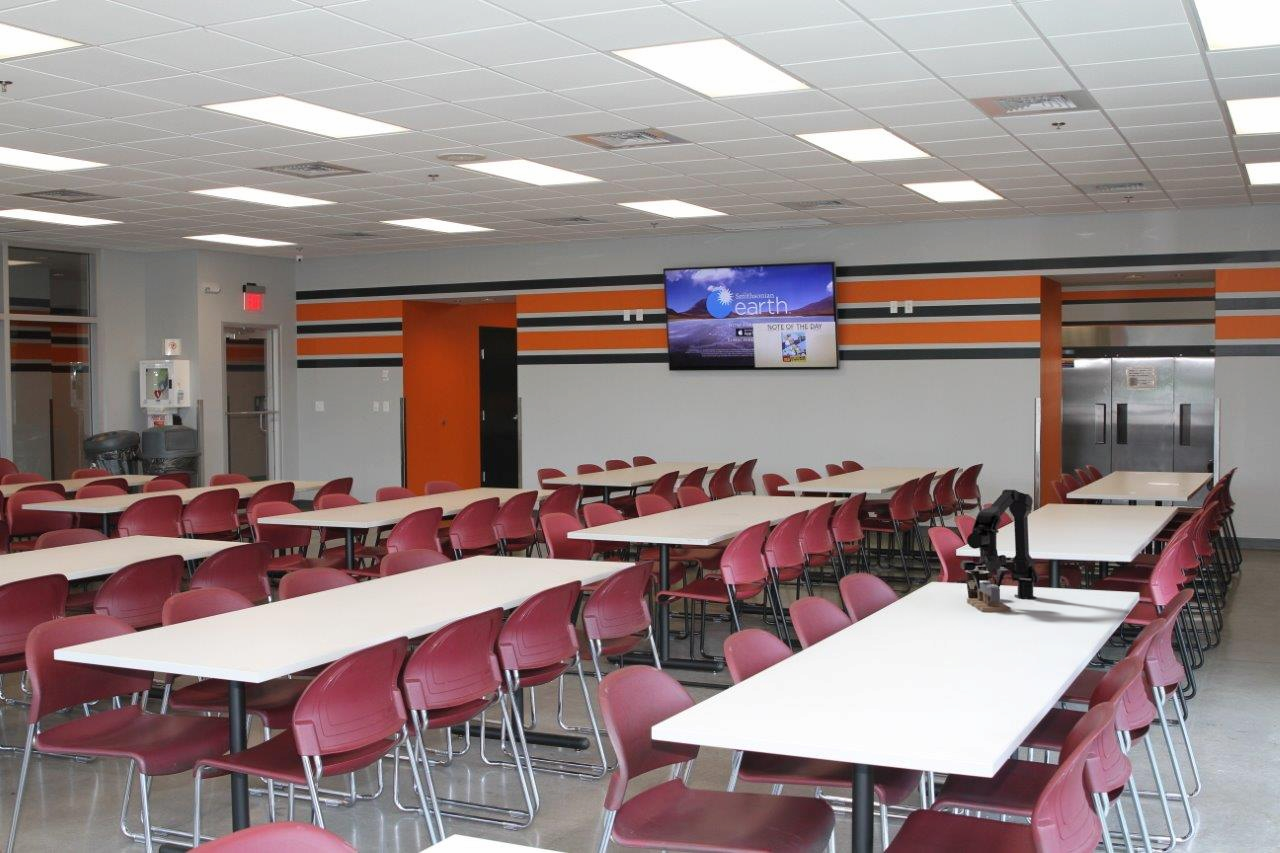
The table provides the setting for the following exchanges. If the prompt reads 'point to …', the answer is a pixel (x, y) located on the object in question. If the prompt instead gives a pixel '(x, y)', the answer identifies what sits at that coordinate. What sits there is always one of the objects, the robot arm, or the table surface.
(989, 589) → the grey bar with knobs
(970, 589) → the coffee mug
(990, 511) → the robot arm
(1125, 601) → the table surface
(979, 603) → the display stand
